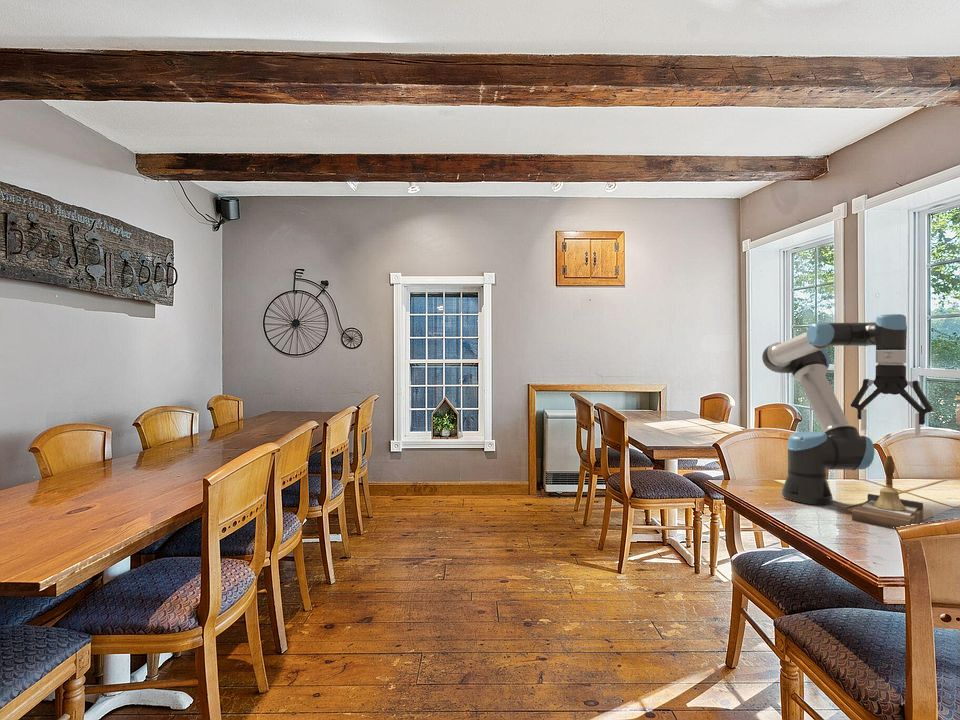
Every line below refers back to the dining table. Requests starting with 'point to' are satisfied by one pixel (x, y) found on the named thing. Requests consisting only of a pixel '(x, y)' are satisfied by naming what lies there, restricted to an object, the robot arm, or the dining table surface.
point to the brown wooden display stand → (888, 513)
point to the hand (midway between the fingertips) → (889, 432)
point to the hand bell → (889, 490)
